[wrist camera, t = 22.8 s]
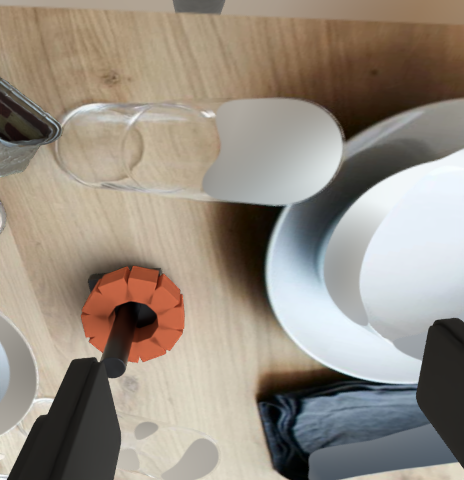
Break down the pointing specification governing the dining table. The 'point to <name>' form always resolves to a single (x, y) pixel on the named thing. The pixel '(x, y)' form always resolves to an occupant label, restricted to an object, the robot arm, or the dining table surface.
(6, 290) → the dining table surface
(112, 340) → the black peg stand
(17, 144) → the chocolate cake
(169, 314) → the ring
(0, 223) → the travel mug
